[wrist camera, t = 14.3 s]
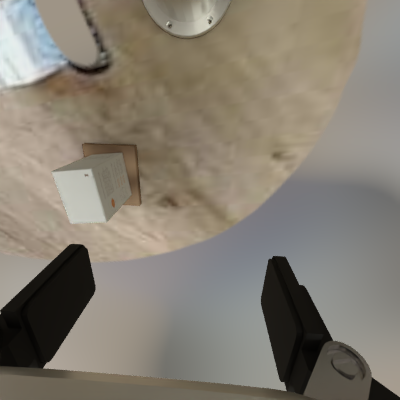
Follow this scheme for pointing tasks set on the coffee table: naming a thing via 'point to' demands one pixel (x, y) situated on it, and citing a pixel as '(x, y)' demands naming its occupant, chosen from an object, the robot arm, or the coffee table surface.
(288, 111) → the coffee table surface
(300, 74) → the coffee table surface
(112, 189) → the small box
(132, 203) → the walnut coaster board
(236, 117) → the coffee table surface
